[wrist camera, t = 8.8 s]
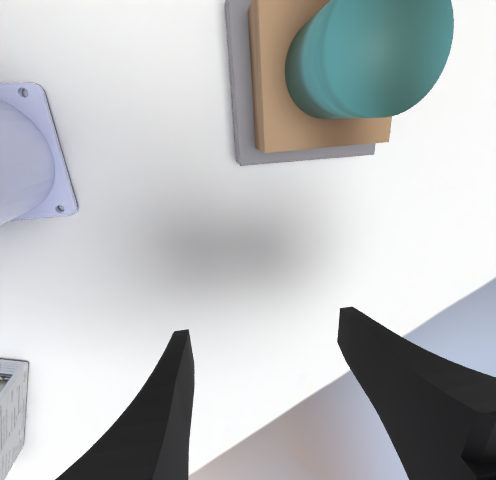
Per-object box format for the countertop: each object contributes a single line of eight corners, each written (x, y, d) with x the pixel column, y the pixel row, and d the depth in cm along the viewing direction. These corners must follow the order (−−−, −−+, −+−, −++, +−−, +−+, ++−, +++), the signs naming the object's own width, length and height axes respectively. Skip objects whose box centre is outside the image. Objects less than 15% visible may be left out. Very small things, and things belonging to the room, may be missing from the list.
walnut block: (255, 148, 18) (265, 152, 15) (247, 10, 15) (257, -15, 13) (361, 139, 19) (388, 141, 16) (371, 6, 16) (407, -18, 13)
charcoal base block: (235, 160, 21) (240, 165, 18) (224, 8, 18) (228, -14, 15) (352, 150, 22) (374, 154, 19) (363, 4, 19) (391, -16, 16)
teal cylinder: (285, 121, 15) (323, 122, 10) (284, 14, 13) (329, -44, 8) (367, 115, 15) (439, 113, 11) (377, 11, 14) (467, -44, 9)
